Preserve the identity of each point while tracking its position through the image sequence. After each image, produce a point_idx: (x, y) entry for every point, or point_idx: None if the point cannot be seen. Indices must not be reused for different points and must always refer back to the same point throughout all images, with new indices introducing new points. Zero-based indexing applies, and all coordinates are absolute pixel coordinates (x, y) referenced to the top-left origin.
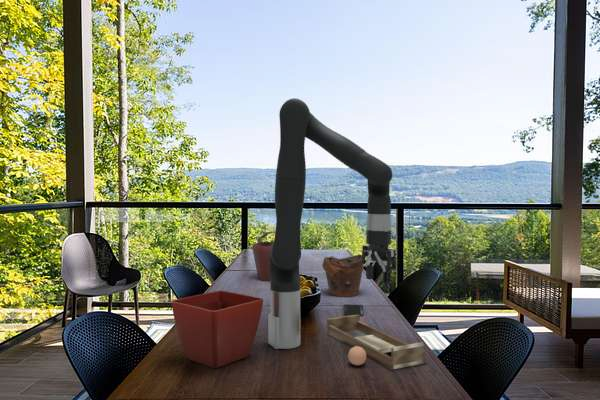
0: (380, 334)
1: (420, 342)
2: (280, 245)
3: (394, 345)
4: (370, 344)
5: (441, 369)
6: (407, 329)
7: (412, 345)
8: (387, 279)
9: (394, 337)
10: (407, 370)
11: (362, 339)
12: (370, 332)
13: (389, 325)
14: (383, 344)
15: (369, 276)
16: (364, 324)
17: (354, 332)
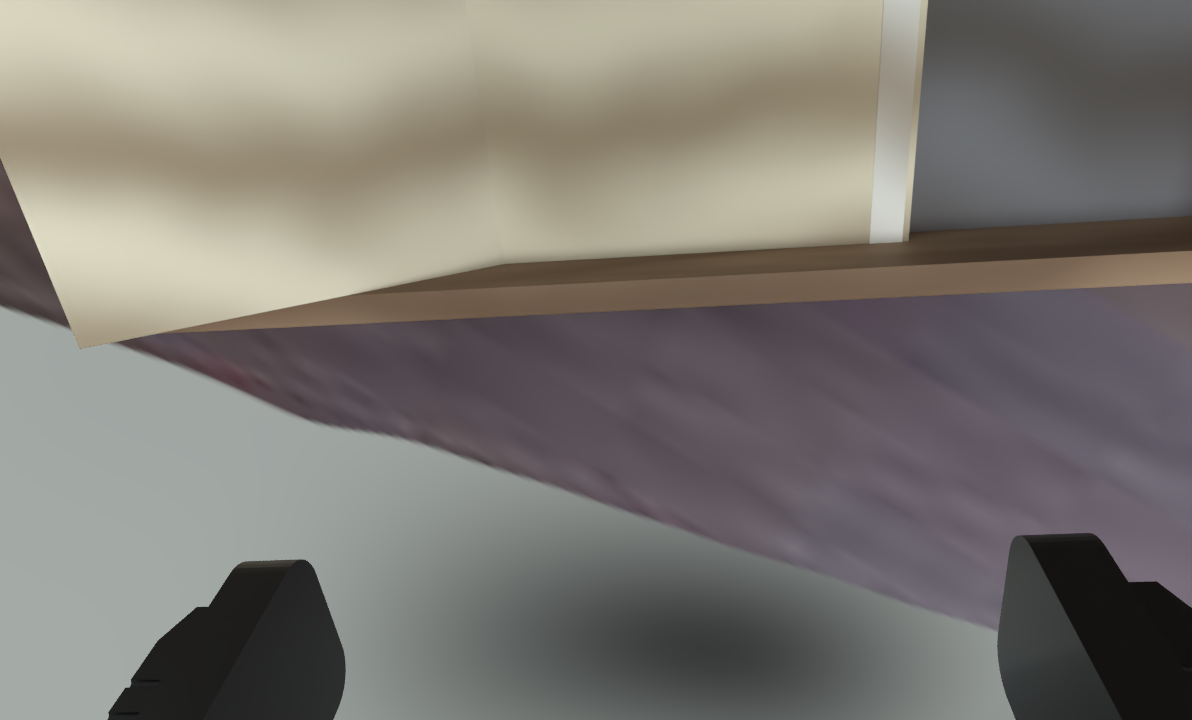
0: (760, 265)
1: (69, 320)
2: None
3: (535, 263)
4: (645, 67)
5: (57, 319)
6: (931, 600)
7: (32, 222)
8: (138, 695)
9: (569, 311)
10: None
11: (822, 68)
12: (942, 244)
13: (1114, 544)
14: (598, 188)
15: (1034, 631)
16: (1099, 264)
17: (1136, 139)
